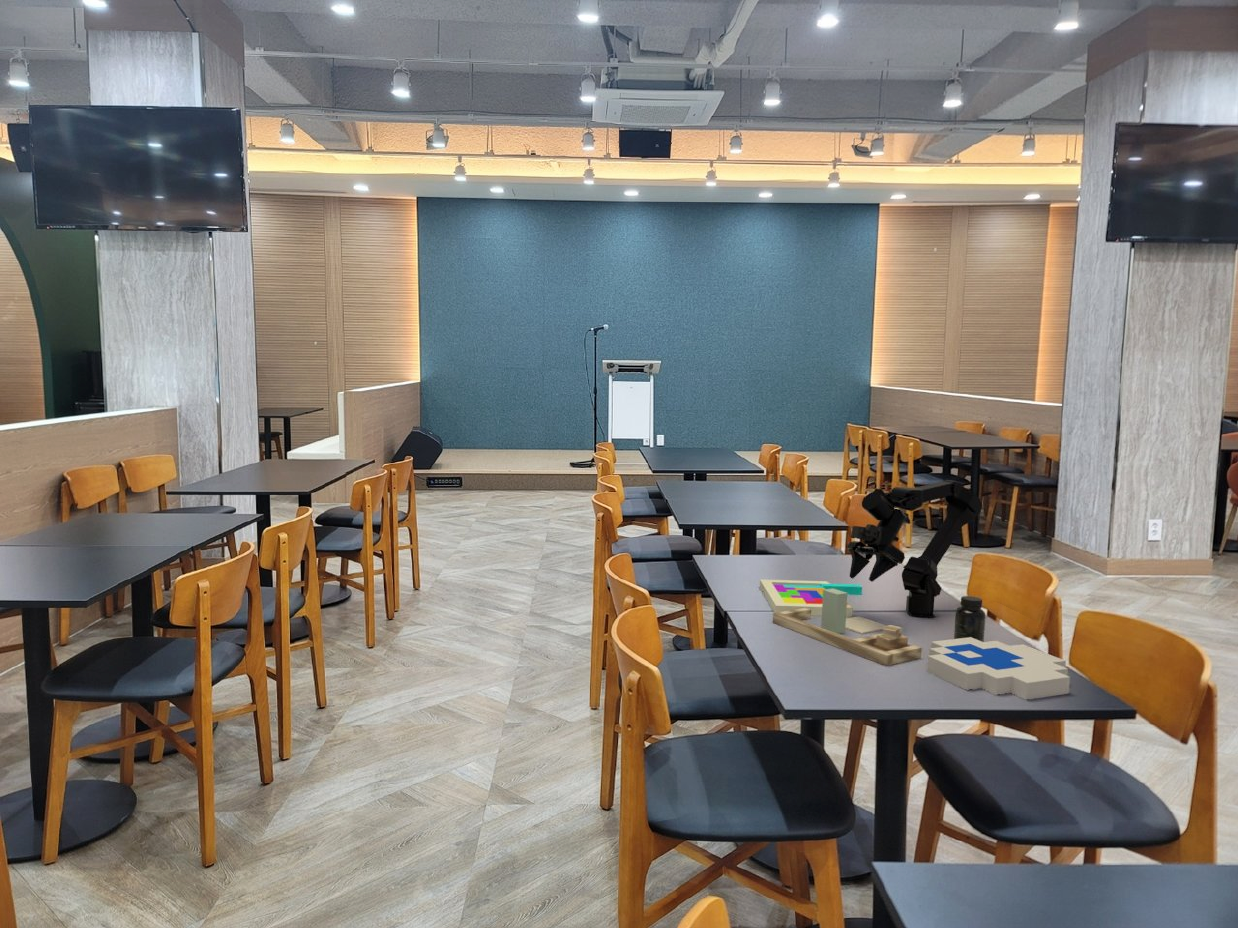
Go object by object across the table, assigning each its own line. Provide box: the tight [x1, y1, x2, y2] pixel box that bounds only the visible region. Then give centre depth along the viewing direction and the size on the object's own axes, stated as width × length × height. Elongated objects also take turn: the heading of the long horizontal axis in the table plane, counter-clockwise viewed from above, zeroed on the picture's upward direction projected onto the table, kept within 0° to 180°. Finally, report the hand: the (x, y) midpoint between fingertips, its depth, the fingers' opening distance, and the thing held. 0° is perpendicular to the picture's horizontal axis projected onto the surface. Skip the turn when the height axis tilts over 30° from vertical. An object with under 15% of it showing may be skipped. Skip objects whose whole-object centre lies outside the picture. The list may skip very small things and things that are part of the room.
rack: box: [772, 608, 922, 667], centre depth 211 cm, size 12×38×2 cm, turn 32°
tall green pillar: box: [820, 588, 848, 635], centre depth 218 cm, size 4×5×10 cm
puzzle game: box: [759, 578, 863, 618], centre depth 247 cm, size 30×3×30 cm
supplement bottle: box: [953, 595, 987, 642], centre depth 208 cm, size 7×7×12 cm
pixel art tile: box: [926, 637, 1071, 700], centre depth 189 cm, size 28×4×28 cm
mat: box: [845, 615, 888, 635], centre depth 223 cm, size 11×11×1 cm
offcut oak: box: [876, 634, 909, 648], centre depth 202 cm, size 6×4×2 cm, turn 115°
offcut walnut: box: [874, 643, 911, 651], centre depth 202 cm, size 7×5×2 cm
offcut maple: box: [881, 624, 903, 640], centre depth 201 cm, size 4×3×2 cm
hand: (860, 579), depth 223 cm, fingers open, 9 cm apart
